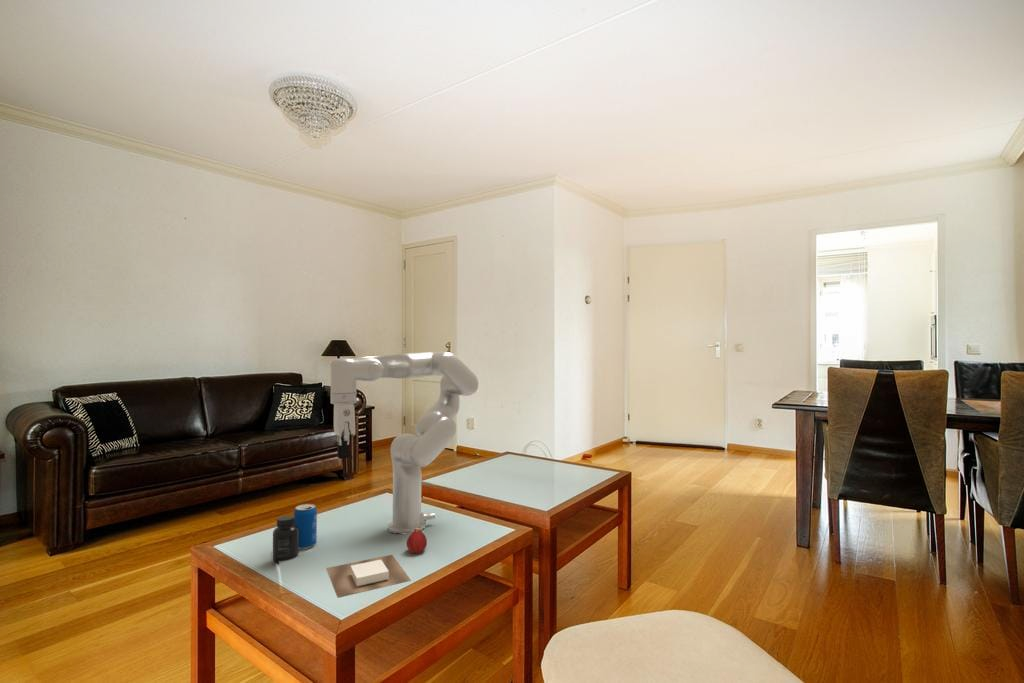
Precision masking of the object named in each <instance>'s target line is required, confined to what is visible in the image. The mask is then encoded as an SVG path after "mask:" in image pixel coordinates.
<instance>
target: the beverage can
mask: <svg viewBox="0 0 1024 683" xmlns="http://www.w3.org/2000/svg"><path fill="white" fill-rule="evenodd" d="M293 516H295V524H294V525H296V526H297V527H298V528H299V550H307V549H310V548H311V549H312V548H313V546H314V545H316V544H317V538H318V537H317V536H318V535H317V533H318V532H317V523H318V521H317V520H318V519H317V518H318V510H317V507H316V504H314V503H313V504H312V503H304V504H303V503H302V504H299V505H297V506H296V507H295V509H294V512H293Z"/></svg>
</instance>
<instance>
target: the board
mask: <svg viewBox="0 0 1024 683" xmlns="http://www.w3.org/2000/svg"><path fill="white" fill-rule="evenodd" d="M376 560H382V562H383V563H384V565H385V566H386V568H387V569H388V571H389V579H387V580H383V581H378V582H374V583H370V584H365V585H361V586H356V584H355V582H354V580H353V578H352V575H351V573H350V572H351V566H352V565H357V564H361V563H366V562H371V561H376ZM325 569H326V571H327V573H328V574H327V575H328V577H329V579H330V581H331V584H332V587H333V589H334V592H335V594H336V597H337V599H339V598H343V597H348V596H352V595H356V594H361V593H366V592H370V591H372V590H373V591H374V590H377V589H382V588H386V587H391V586H394V585H398V584H404V583H407V582H411V581H412V580H411V578H410V577H409V576H408V574H407V573H406V571H405V570H404V568H403V567H402V566H401V564H400V563H399V561H398V560H397V559H396V558H395V556H394V555H393V554H388V555H384V556H379V557H375V558H374V557H373V558H369V559H364V560H360V561H355V562H349V563H344V564H341V565H334V566H331V567H330V566H329V567H326V568H325Z"/></svg>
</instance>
